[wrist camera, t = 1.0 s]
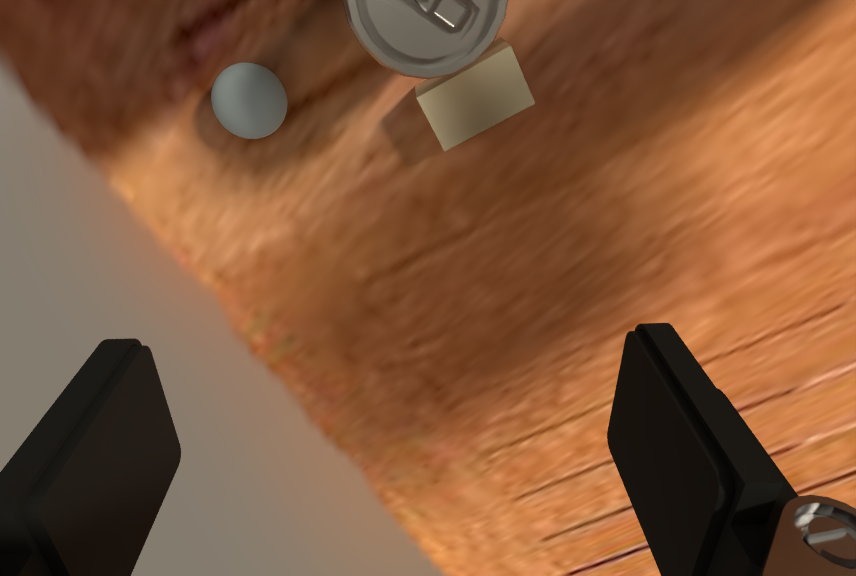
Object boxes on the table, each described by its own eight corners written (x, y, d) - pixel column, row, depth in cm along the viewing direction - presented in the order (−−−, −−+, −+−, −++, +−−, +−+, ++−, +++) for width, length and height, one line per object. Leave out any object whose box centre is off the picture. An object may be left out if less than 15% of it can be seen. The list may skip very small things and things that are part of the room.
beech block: (500, 37, 30) (510, 45, 27) (523, 90, 31) (535, 103, 28) (414, 85, 31) (416, 97, 28) (440, 135, 32) (444, 151, 29)
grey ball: (281, 51, 29) (268, 63, 26) (300, 122, 31) (289, 141, 28) (212, 63, 30) (190, 76, 26) (234, 133, 31) (216, 153, 28)
